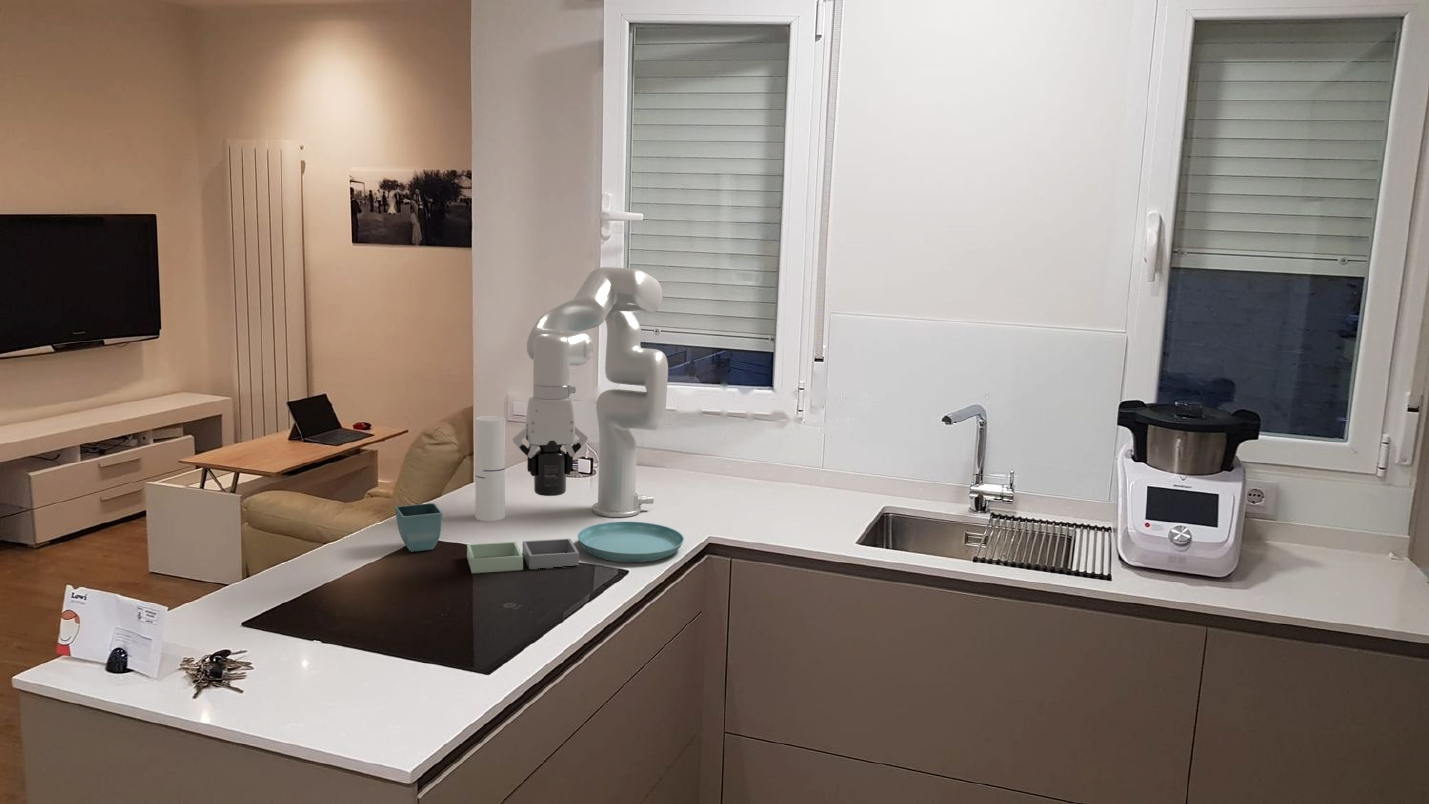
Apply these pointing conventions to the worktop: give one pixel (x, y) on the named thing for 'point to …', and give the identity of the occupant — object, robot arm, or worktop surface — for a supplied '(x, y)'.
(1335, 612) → the worktop surface
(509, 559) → the green bin
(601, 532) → the teal plate
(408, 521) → the flower pot
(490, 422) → the cylindrical container
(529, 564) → the grey bin
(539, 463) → the supplement bottle
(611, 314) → the robot arm
